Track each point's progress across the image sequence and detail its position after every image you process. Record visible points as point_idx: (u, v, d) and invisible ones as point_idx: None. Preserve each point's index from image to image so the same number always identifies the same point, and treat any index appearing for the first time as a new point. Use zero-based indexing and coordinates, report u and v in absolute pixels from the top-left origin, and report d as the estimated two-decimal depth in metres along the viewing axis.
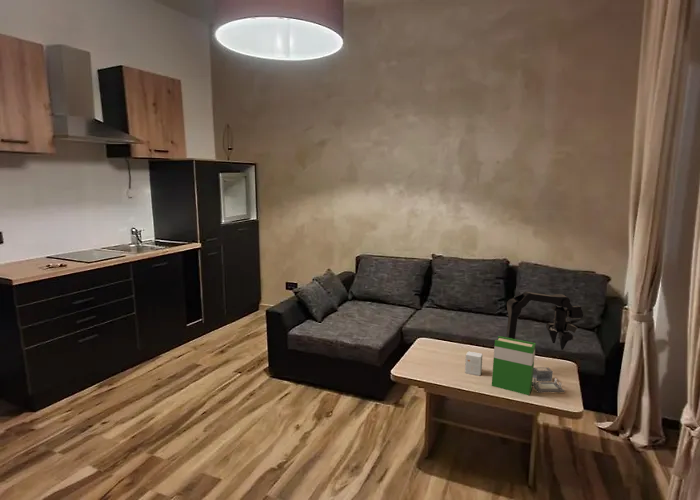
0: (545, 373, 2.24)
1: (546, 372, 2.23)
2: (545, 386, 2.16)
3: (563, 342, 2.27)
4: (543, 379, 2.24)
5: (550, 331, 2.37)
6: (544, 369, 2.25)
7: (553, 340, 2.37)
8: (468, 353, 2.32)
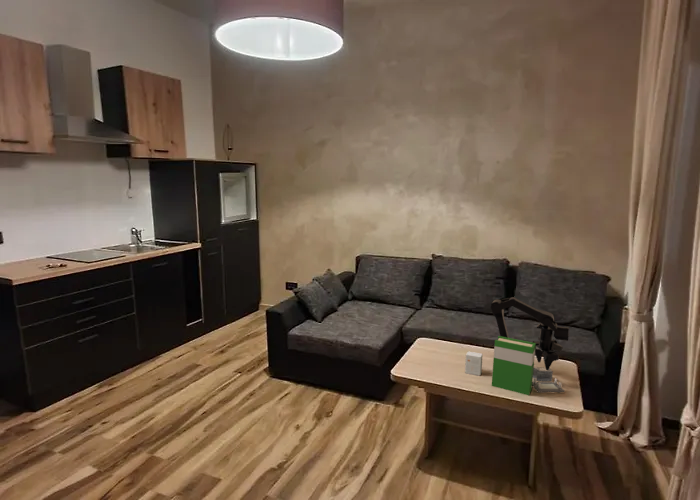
0: (545, 373, 2.24)
1: (546, 372, 2.23)
2: (545, 386, 2.16)
3: (548, 362, 2.19)
4: (543, 379, 2.24)
5: (535, 350, 2.29)
6: (544, 369, 2.25)
7: (538, 359, 2.29)
8: (468, 353, 2.32)
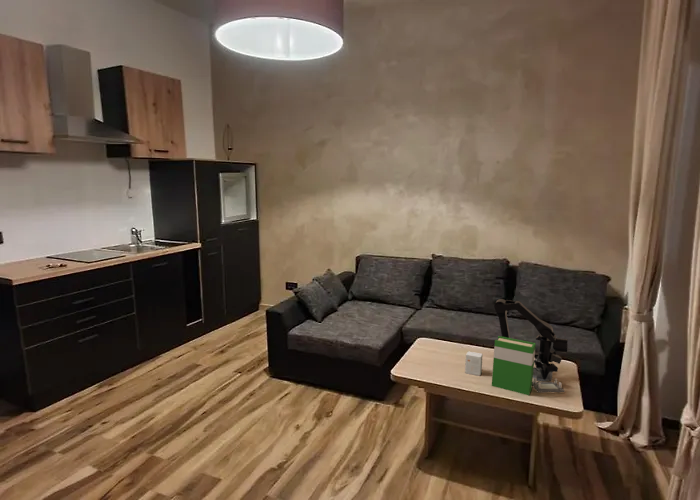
0: None
1: None
2: (545, 386, 2.16)
3: (545, 372, 2.22)
4: (543, 379, 2.24)
5: (536, 363, 2.28)
6: None
7: None
8: (468, 353, 2.32)
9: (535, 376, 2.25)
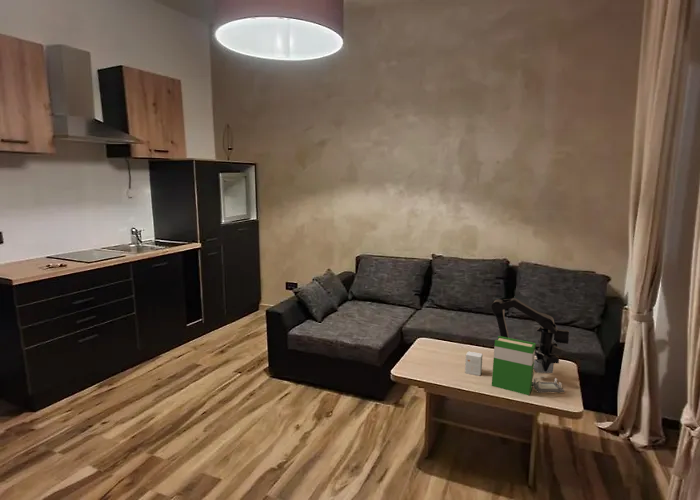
0: None
1: None
2: (545, 386, 2.16)
3: (546, 363, 2.21)
4: (544, 371, 2.23)
5: (537, 354, 2.27)
6: None
7: None
8: (468, 353, 2.32)
9: (536, 368, 2.24)
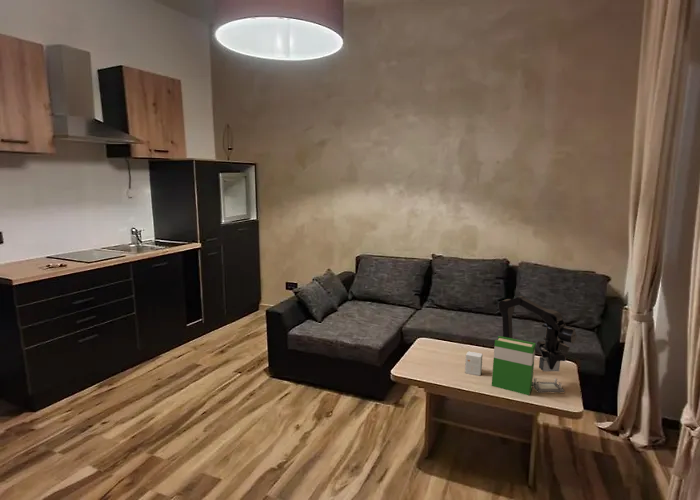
0: None
1: None
2: (545, 386, 2.16)
3: (552, 361, 2.11)
4: (550, 369, 2.13)
5: (543, 352, 2.17)
6: None
7: None
8: (468, 353, 2.32)
9: (542, 366, 2.14)
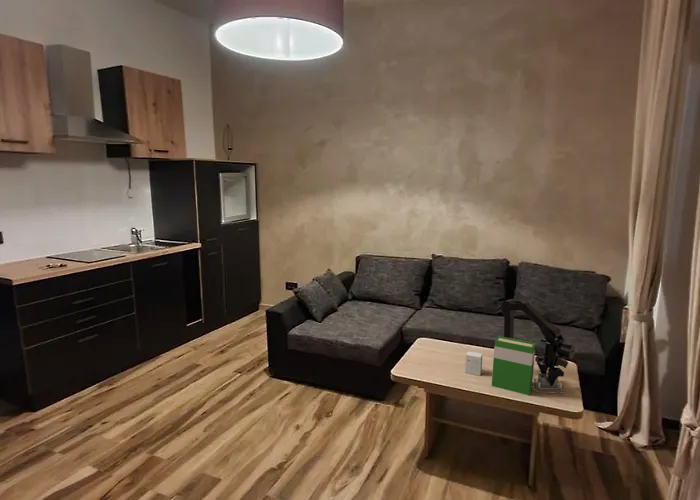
0: None
1: None
2: None
3: (552, 378, 2.10)
4: (548, 386, 2.14)
5: (540, 365, 2.19)
6: None
7: None
8: (468, 353, 2.32)
9: None
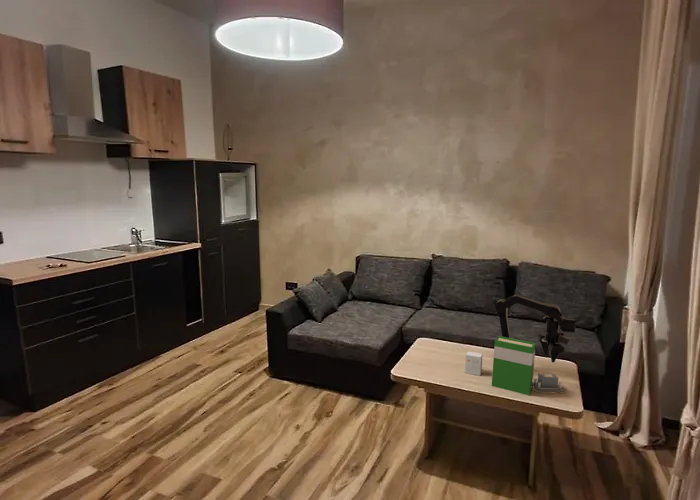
0: (551, 380, 2.13)
1: (551, 378, 2.13)
2: None
3: (554, 354, 2.17)
4: (548, 386, 2.14)
5: (542, 342, 2.27)
6: (549, 375, 2.15)
7: (545, 352, 2.27)
8: (468, 353, 2.32)
9: None
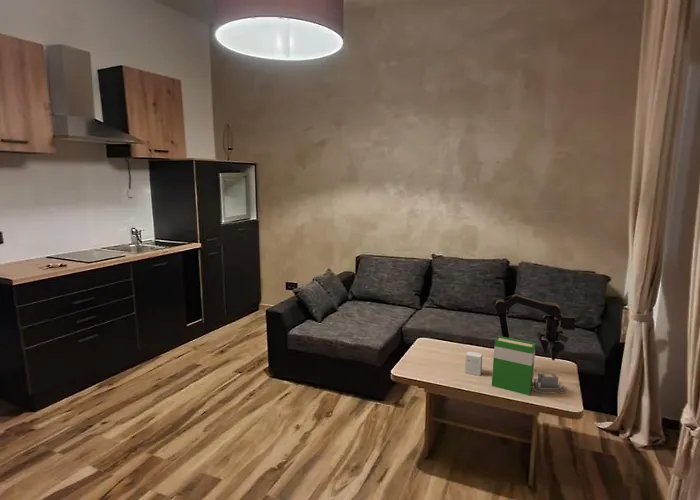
0: (551, 380, 2.13)
1: (551, 378, 2.13)
2: None
3: (554, 352, 2.19)
4: (548, 386, 2.14)
5: (541, 341, 2.30)
6: (549, 375, 2.15)
7: (544, 350, 2.30)
8: (468, 353, 2.32)
9: None
